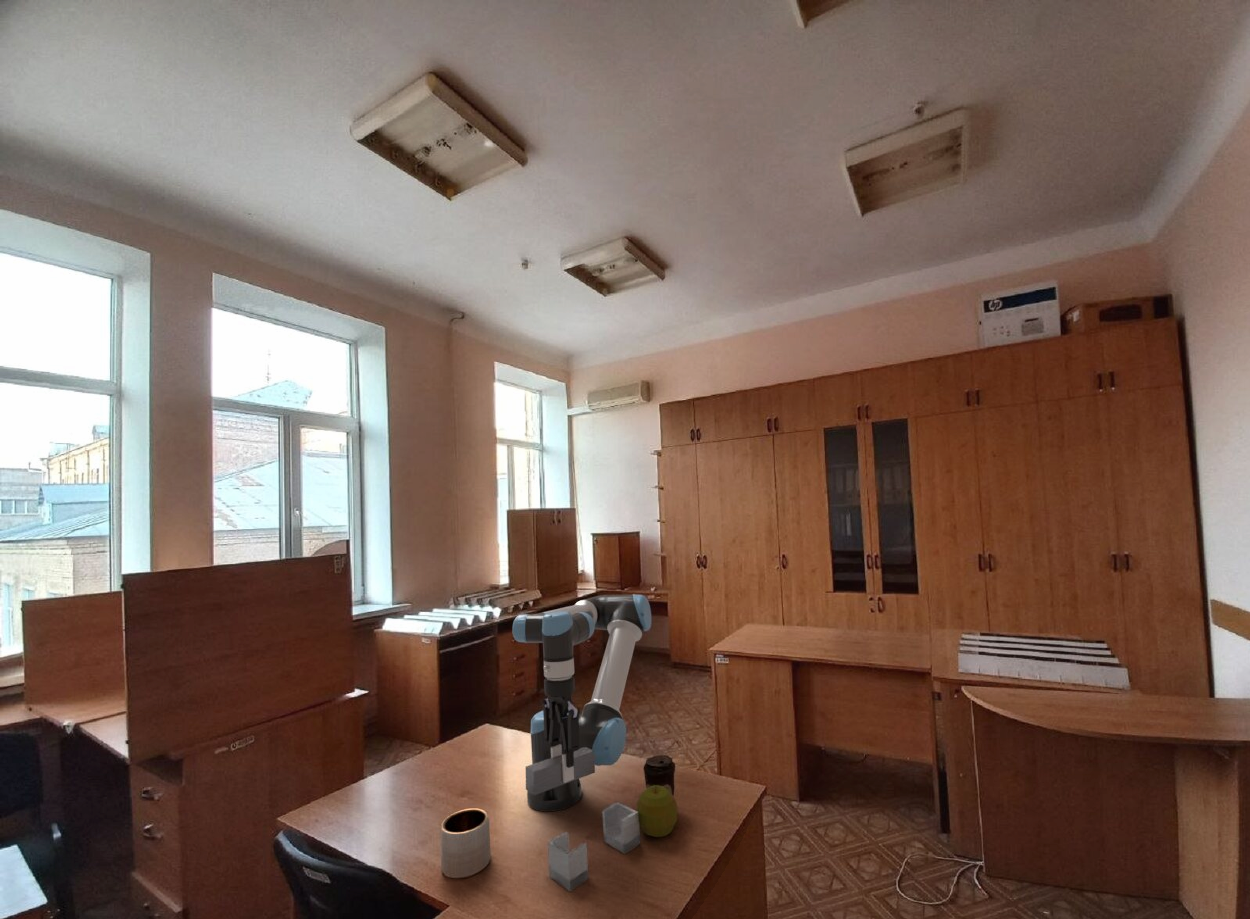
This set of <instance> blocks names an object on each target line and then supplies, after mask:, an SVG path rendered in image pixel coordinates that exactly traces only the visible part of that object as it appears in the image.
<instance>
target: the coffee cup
mask: <svg viewBox="0 0 1250 919" xmlns="http://www.w3.org/2000/svg"><path fill="white" fill-rule="evenodd" d="M675 773H676V763H675V762H673V758H672V757H670V756H669V755H663V754H658V755H654V756H652V757H649V758H647V759H646V760H645V763H644V765H643V774H644V781H645V790H646V789H647V788H649V787H651V786H653V785H659V786H663V787H664V788H666V789H667V790H668V791H669V792H670V793H671V794H672V795H673V797H674V796H675V787H676V786H675ZM674 798H675V797H674Z"/></svg>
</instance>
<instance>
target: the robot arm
mask: <svg viewBox="0 0 1250 919" xmlns="http://www.w3.org/2000/svg"><path fill="white" fill-rule="evenodd" d="M651 627H652V610H651V606H650V602H649V599H648V598H647V597H646V596H645V595H643V594H635V593H633V594H602V595H597V596H593V597H588V598H586V599H581V600H579V601H577V602H576V603H575V604H574V605H569V606H565V607H560V608H557V609H552V610H547V611H543V612H539V613H533V614H532V613H531V614H529V613H526V614H518V615H517V616H516V617H515V619H514V620H513V623H512V631H511V632H512V637H513V638H514V641H516V642H518V643H525V644H528V643H530V644H535V643H536V644H539V643H540V644H541V643H542V650H543V676H544V677H545V678H544V680H543V689H544V692H543V693H544V695H545V696H547V698H544V699H541V705H542V710H541V711H538V712H537V713H536V714H534V715H533V716H532V718H531V720H530V732H529V733H530V745H531V763H532V764H535V763H538V762H541V761H544V760H547V759H550V758H553V757H556V756H559V755H562V771H563V782H564V783H566V782H568V781H571V780H573V779H574V751H577V750H579V749H580V748H583V747H587V748H589V749H591V750H593V751H594V759H595V766H597V767H600V766H613V765H614V764H615V763H616V762H618V761H619V759H620V758H621V756H622V754H623V752H624V749H625V745H626V742H627V741H626V739H627V737H626V734H627V726H626V723H625V721H624V720H623V719H624V718H623V715H622V714H623V713H622V712H621V711H620V708H621V704H622V699H623V697H624V692H625V688H626V683H627V678H628V675H629V671H630V667H631V666H630V665H631V663H632V659H633V655H634V654H633V653H634V650H635V645H636V642H639V641H640V640H641V639H642V636H643V633H644V632H647V631H649V630H650V629H651ZM595 630H601V631H607V632H608V635H609V636H608V640H607V642H606V647H605V650H604V654H603V657H602V661H601V665H600V668H599V672H598V673H597V674H598V675H597V678H596V682H595V685H594V688H593V692H592V696H591V699H590V701H589V702H587V703H585V704H584V706H583V708H582V712H581V708H580V707H575V706H574V704H573V700H572V695H573V693H575V691H576V690H575V689H576V688H575V687H576V686H575V685H576V684H575V683H576V682H575V681H576V680H575V676H574V674H575V658H574V646H576V645H579V644H580V643H584V642H586V641H587V640H589V639H590V638H591V637H592V636H593V634H594V632H595ZM580 714H581V715H580ZM532 764H531V765H532ZM582 793H583V792H582V784H581V781H580V778H579V779H577V780H574V781H571V782H568V783H566V784H563V785H560V786H558V787H555V788H552V789H550V790H547V791H544V792H542V793H539V794H536V795H533V794H532V793H530V792H529V791H527V790H526V797H527V798H526V799H527V801H526V802H527V804H528V807H530V808H531V809H533V810H536V811H541V812H556V811H560V810H564V809H567V808H569V807H571V806H573V805H575V804H577V802H579V800H580V799H581V797H582Z"/></svg>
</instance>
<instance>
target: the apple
mask: <svg viewBox="0 0 1250 919" xmlns="http://www.w3.org/2000/svg"><path fill="white" fill-rule="evenodd" d="M677 805H678V804H677V801H676V799H675V797H673V795H672V794H671V793H670V792H669V791H668V790H667V789H666V788H664V787H663V786H659V785H653V786H651V787H649V788H647V789H646V788H645V790H643V792H641V794H640V795H639V797H638V801H637V805H636V811H637V812H638V817H639V826H641V828H642V830H643V832H644V833H645V834H646V835H647V836H650V837H653V838H654V837H655V838H664V837H666V836H667V835H669V834H670V833H672V831H673V829H674V828H675V825H676V823H677V820H678V806H677Z"/></svg>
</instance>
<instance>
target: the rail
mask: <svg viewBox="0 0 1250 919" xmlns="http://www.w3.org/2000/svg"><path fill="white" fill-rule="evenodd" d="M595 766H596V765H595V759H594V751H593V750H591V749H589V748H587V747H583V748H580V749H579V750H577V751H574V779H573V780H571V781H574V780H577V779H579V780H580V779H582V778H584V777H587V776H590V775H592V774H595V773H596V768H595ZM571 781H568V782H571ZM568 782H566V783H568ZM566 783H564V782H563V771H562V755H559V756H556V757H553V758H550V759H547V760H544V761H541V762H538V763H535V764H529V765H527V766H525V790H526V792H527V791H529V792H530V793H532V794H533V795H536V794H539V793H542V792H544V791H547V790H550V789H552V788H555V787H558V786H560V785H563V784H566Z"/></svg>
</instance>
